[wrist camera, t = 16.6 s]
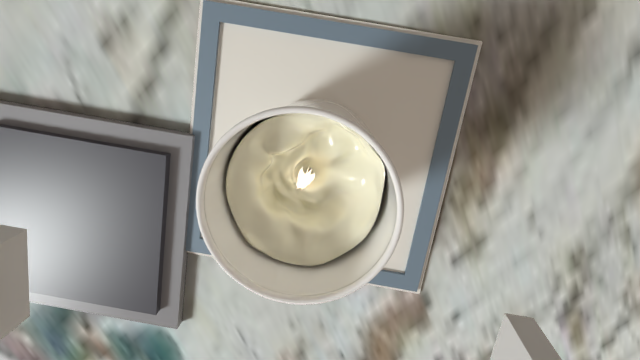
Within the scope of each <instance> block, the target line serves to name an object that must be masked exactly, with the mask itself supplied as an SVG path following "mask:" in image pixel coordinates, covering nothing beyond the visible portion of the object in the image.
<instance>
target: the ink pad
mask: <svg viewBox="0 0 640 360" xmlns="http://www.w3.org/2000/svg"><path fill="white" fill-rule="evenodd" d="M194 142H195V135H192V134H190V133H188V132H182V131H176V130H170V129H165V128H159V127H153V126H147V125H141V124H136V123H130V122H124V121H118V120H112V119H106V118H101V117H95V116H89V115H83V114H77V113H72V112H66V111H60V110H54V109H48V108H43V107H37V106H31V105H25V104H19V103H14V102H8V101H2V100H0V224H1V225H6V226H12V227H18V228H24V229H27V246H28V277H29V302H32V303H38V304H43V305H49V306H54V307H60V308H65V309H71V310H76V311H82V312H87V313H92V314H98V315H103V316H109V317H114V318H120V319H125V320H131V321H136V322H142V323H147V324H153V325H158V326H163V327H169V328H174V329H177V328H178V327H179V325H180V324H181V322H182V312H183V300H184V288H185V276H186V264H187V251H186V240H187V227H188V215H189V203H190V191H191V179H192V167H193V154H194Z"/></svg>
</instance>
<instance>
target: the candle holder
mask: <svg viewBox="0 0 640 360" xmlns="http://www.w3.org/2000/svg"><path fill="white" fill-rule="evenodd" d="M196 213H197V220H198V224H199V228H200V231H201V234H202V237H203V240H204V242H205V244H206V246H207V248H208V250H209V252H210V253H211V255H212V256H213V258H214V259H215V261H216V262H217V263H218V264H219V266H220V267H221V268H222V269H223V270H224V271H225V272H226V273H227V274H228V275H229V276H230V277H231V278H232V279H233V280H235V281H236V282H237V283H239V284H240V285H241V286H243V287H244V288H246V289H248V290H250V291H251V292H253V293H255V294H257V295H260V296H262V297H265V298H267V299H270V300H274V301H277V302H282V303H288V304H297V305H310V304H320V303H325V302H330V301H333V300H337V299H340V298H342V297H345V296H347V295H349V294H351V293H353V292H355V291H357V290H358V289H360V288H361V287H363V286H364V285H366V284H367V283H368V282H370V281H371V280H372V279H373V278H374V277H375V276H376V275H377V274H378V273H379V272H380V271H381V270H382V269H383V267H384V266H385V265H386V263H387V262H388V261H389V259H390V257H391V256H392V254H393V252H394V250H395V248H396V246H397V243H398V241H399V238H400V234H401V231H402V226H403V219H404V198H403V191H402V186H401V183H400V179H399V176H398V174H397V171H396V169H395V167H394V165H393V163H392V161H391V159H390V157H389V156H388V154H387V153H386V151H385V150H384V149H383V147H382V146H381V145H380V144H379V142H378V141H377V140H376V139H375V137H374V136H373V134H372V133H371V131H370V130H369V128H368V127H367V125H366V124H365V123H364V121H363V120H362V119H361V118H360V117H359V116H358V115H357V114H356V113H355V112H353V111H352V110H351V109H349V108H348V107H346V106H344V105H342V104H340V103H337V102H334V101H331V100H326V99H307V100H301V101H297V102H294V103H291V104H288V105H285V106H282V107H277V108H272V109H268V110H265V111H262V112H259V113H256V114H254V115H252V116H250V117H248V118H246V119H244V120H243V121H241V122H239V123H238V124H236V125H235V126H234V127H232V128H231V129H230V130H229V131H228V132H226V133H225V134H224V135H223V136H222V137H221V139H220V140H219V141H218V142H217V143H216V144H215V146H214V147H213V149H212V150H211V152H210V153H209V155H208V157H207V158H206V160H205V163H204V165H203V167H202V170H201V173H200V176H199V180H198V184H197V191H196Z"/></svg>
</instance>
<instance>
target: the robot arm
mask: <svg viewBox="0 0 640 360" xmlns="http://www.w3.org/2000/svg"><path fill="white" fill-rule="evenodd" d="M29 316H30V307H29V277H28V246H27V229H24V228H18V227H12V226H6V225H1V224H0V340H1V339H3V338H4V337H5V336H6V335H7V334H9V333H10V332H11V331H12V330H13V329H15V328H16V327H17V326H18V325H19V324H21V323H22V322H23V321H24V320H25V319H27V318H28V317H29ZM490 360H562V359H561V358H560V356H559V355H558V353H557V352H556V351H555V349H554V348H553V346H552V345H551V343H550V342H549V340H548V339H547V337H546V336H545V334H544V333H543V332H542V330H541V329H540V327H539V326H538V324H537V323H536V321H535V320H534V318H530V317H524V316H518V315H513V314H507V313H505V314H504V317H503V321H502V324H501V327H500V330H499V333H498V336H497V339H496V342H495V346H494V349H493V352H492V355H491V358H490Z"/></svg>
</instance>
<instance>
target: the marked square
mask: <svg viewBox="0 0 640 360" xmlns="http://www.w3.org/2000/svg"><path fill="white" fill-rule="evenodd" d="M482 42H483V41H478V40H472V39H466V38H460V37H454V36H448V35H442V34H436V33H429V32H423V31H417V30H411V29H405V28H399V27H393V26H387V25H381V24H375V23H369V22H363V21H356V20H350V19H344V18H338V17H332V16H326V15H320V14H314V13H308V12H302V11H296V10H290V9H283V8H277V7H271V6H265V5H259V4H253V3H247V2H241V1H235V0H200V9H199V22H198V35H197V48H196V60H195V73H194V86H193V98H192V111H191V124H190V134H192V135H195V142H194V154H193V167H192V179H191V191H190V203H189V215H188V227H187V240H186V251H187V253H193V254H198V255H204V256H210V257H213V256H212V255H211V253H210V252H209V250H208V248H207V246H206V244H205V242H204V240H203V237H202V234H201V231H200V228H199V224H198V220H197V213H196V191H197V184H198V180H199V176H200V173H201V170H202V167H203V165H204V163H205V160H206V158H207V157H208V155H209V153H210V152H211V150H212V149H213V147H214V146H215V144H216V143H217V142H218V141H219V140H220V139H221V137H222V136H223V135H224V134H225V133H226V132H228V131H229V130H230V129H231V128H232V127H234V126H235V125H236V124H238V123H239V122H241V121H243V120H244V119H246V118H248V117H250V116H252V115H254V114H256V113H259V112H262V111H265V110H268V109H272V108H277V107H282V106H285V105H288V104H291V103H294V102H297V101H301V100H307V99H326V100H331V101H334V102H337V103H340V104H342V105H344V106H346V107H348V108H349V109H351V110H352V111H353V112H355V113H356V114H357V115H358V116H359V117H360V118H361V119H362V120H363V121H364V123H365V124H366V125H367V127H368V128H369V130H370V131H371V133H372V134H373V136H374V137H375V139H376V140H377V141H378V142H379V144H380V145H381V146H382V147H383V149H384V150H385V151H386V153H387V154H388V156H389V157H390V159H391V161H392V163H393V165H394V167H395V169H396V171H397V174H398V176H399V179H400V183H401V186H402V191H403V198H404V219H403V226H402V231H401V234H400V238H399V241H398V243H397V246H396V248H395V250H394V252H393V254H392V256H391V257H390V259H389V261H388V262H387V263H386V265H385V266H384V267H383V269H382V270H381V271H380V272H379V273H378V274H377V275H376V276H375V277H374V278H373V279H372V280H371V281H370V282H368V283H367V284H366V285H372V286H377V287H383V288H389V289H394V290H400V291H405V292H411V293H417V294H420V290H421V286H422V282H423V278H424V274H425V270H426V266H427V262H428V258H429V254H430V250H431V246H432V242H433V238H434V234H435V230H436V226H437V222H438V218H439V214H440V210H441V206H442V202H443V198H444V194H445V190H446V186H447V182H448V178H449V174H450V170H451V166H452V162H453V158H454V154H455V150H456V146H457V142H458V138H459V134H460V130H461V126H462V122H463V118H464V114H465V110H466V106H467V102H468V98H469V94H470V90H471V86H472V82H473V78H474V74H475V70H476V66H477V62H478V58H479V54H480V50H481V46H482Z"/></svg>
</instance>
